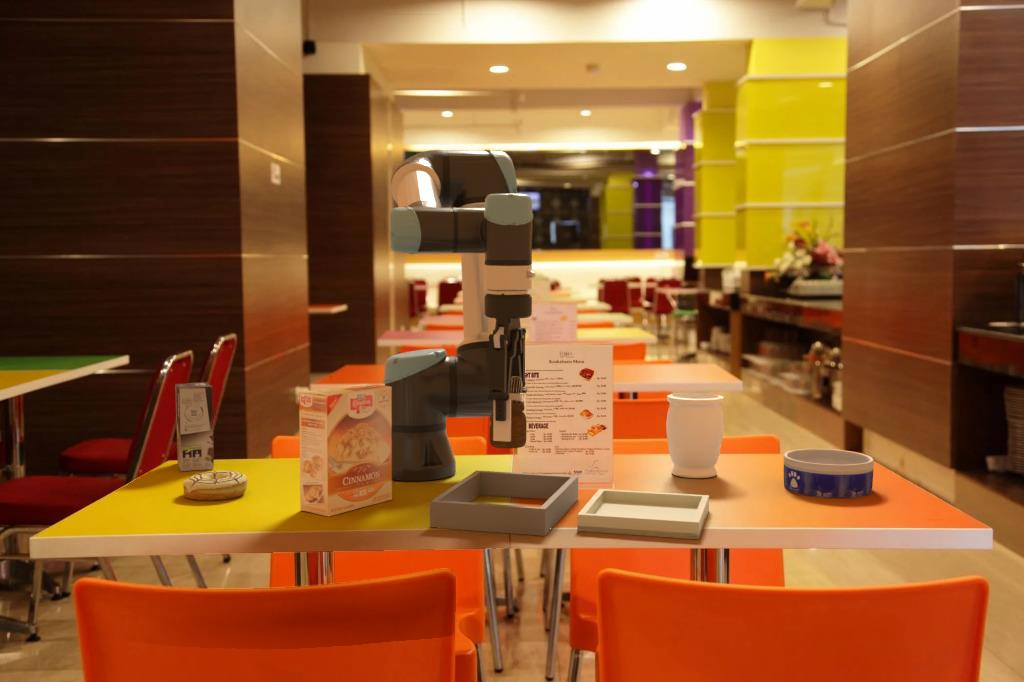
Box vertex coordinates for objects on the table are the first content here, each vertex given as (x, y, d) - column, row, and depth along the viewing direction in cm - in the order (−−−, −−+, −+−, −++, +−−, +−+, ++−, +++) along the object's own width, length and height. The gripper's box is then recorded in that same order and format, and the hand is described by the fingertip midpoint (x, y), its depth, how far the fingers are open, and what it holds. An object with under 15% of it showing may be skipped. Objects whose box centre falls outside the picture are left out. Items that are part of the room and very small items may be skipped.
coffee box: (215, 469, 203) (213, 386, 202) (180, 472, 201) (178, 388, 199) (210, 460, 212) (208, 381, 210) (176, 463, 209) (174, 382, 208)
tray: (577, 530, 158) (577, 514, 158) (599, 503, 175) (599, 488, 175) (698, 539, 153) (699, 522, 153) (708, 510, 170) (709, 495, 170)
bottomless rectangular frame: (429, 527, 160) (429, 501, 159) (476, 493, 183) (476, 470, 182) (545, 535, 155) (545, 509, 155) (578, 499, 178) (578, 476, 178)
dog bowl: (892, 493, 183) (893, 459, 183) (825, 503, 176) (826, 467, 176) (828, 477, 197) (829, 445, 196) (765, 485, 190) (765, 452, 189)
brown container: (533, 444, 169) (534, 370, 168) (511, 451, 164) (512, 375, 163) (503, 440, 173) (503, 367, 171) (480, 446, 168) (481, 371, 166)
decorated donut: (184, 491, 185) (183, 470, 185) (247, 488, 188) (246, 467, 188) (182, 504, 175) (181, 482, 175) (248, 500, 178) (248, 478, 178)
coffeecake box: (329, 517, 166) (327, 394, 164) (298, 511, 170) (296, 391, 169) (394, 499, 178) (393, 385, 176) (364, 494, 182) (363, 382, 181)
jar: (719, 469, 203) (721, 392, 202) (725, 480, 193) (726, 399, 192) (664, 468, 204) (665, 391, 203) (667, 479, 194) (668, 399, 193)
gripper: (515, 296, 156) (515, 449, 158) (545, 289, 174) (544, 427, 176) (467, 295, 158) (467, 447, 160) (501, 288, 176) (501, 425, 178)
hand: (507, 436), depth 168 cm, fingers closed on brown container, 6 cm apart
